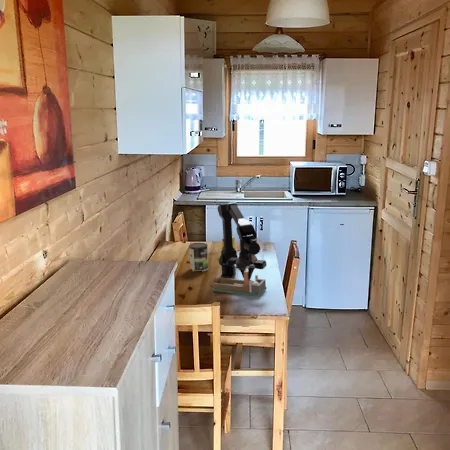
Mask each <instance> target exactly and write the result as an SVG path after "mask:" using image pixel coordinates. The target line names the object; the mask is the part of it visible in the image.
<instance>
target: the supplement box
mask: <svg viewBox="0 0 450 450" xmlns="http://www.w3.org/2000/svg"><path fill="white" fill-rule="evenodd" d="M232 240H233V248H234V249H235V236H232ZM221 244H222V249H223V247H224V239H223V237H222V238H221ZM235 250H236V249H235Z"/></svg>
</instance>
